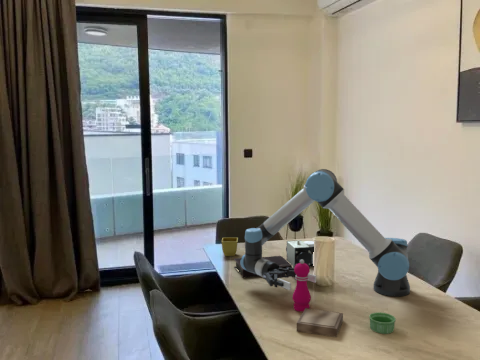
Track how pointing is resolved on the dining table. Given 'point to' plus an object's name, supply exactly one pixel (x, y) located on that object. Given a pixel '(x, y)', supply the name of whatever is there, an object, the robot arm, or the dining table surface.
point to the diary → (276, 259)
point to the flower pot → (229, 246)
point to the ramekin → (382, 322)
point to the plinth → (320, 322)
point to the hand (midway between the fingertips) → (303, 282)
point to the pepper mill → (301, 287)
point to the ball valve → (298, 253)
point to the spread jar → (311, 249)
